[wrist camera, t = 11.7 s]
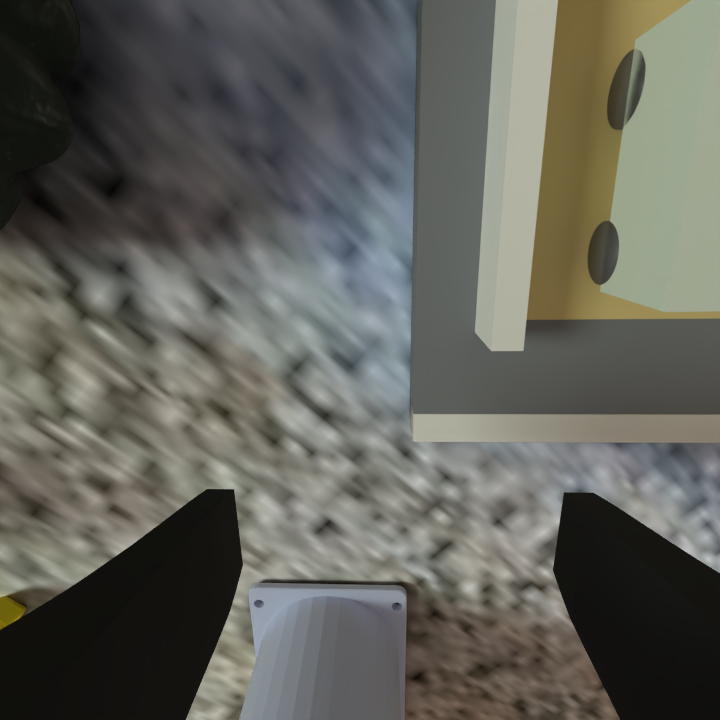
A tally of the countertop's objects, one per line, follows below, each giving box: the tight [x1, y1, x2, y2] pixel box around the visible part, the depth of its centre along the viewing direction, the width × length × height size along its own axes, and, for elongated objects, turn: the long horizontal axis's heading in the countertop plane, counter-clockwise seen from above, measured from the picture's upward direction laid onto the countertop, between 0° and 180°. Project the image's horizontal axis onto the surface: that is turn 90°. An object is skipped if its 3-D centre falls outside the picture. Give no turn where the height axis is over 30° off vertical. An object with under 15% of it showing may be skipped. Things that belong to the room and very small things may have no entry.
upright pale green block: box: [588, 0, 720, 312], centre depth 12 cm, size 7×4×5 cm, turn 1°
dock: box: [410, 0, 720, 443], centre depth 14 cm, size 18×16×4 cm
